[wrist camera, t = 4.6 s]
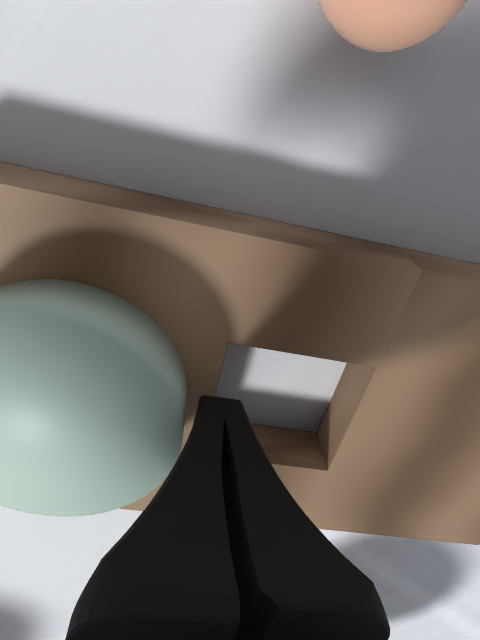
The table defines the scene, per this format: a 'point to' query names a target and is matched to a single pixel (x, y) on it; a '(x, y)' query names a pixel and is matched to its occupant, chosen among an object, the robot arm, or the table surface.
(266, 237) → the brown flat rectangular block
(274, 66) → the table surface
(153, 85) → the table surface
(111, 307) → the green smooth pebble
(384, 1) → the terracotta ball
